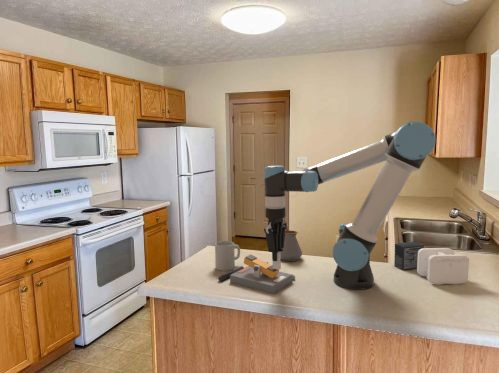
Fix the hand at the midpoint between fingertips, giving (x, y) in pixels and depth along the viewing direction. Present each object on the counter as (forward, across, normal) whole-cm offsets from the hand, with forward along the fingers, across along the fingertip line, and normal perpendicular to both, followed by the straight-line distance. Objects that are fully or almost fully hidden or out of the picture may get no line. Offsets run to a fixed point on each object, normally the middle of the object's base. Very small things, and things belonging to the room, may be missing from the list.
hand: (276, 268), depth 138 cm
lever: (+2, 0, -8) cm, 8 cm away
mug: (+7, -7, -29) cm, 31 cm away
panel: (+7, 0, -7) cm, 10 cm away
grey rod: (+7, -10, -6) cm, 13 cm away
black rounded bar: (+6, +1, -21) cm, 22 cm away
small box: (+8, -50, +37) cm, 63 cm away
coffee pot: (+7, -36, -15) cm, 40 cm away
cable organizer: (+9, -41, +51) cm, 66 cm away
